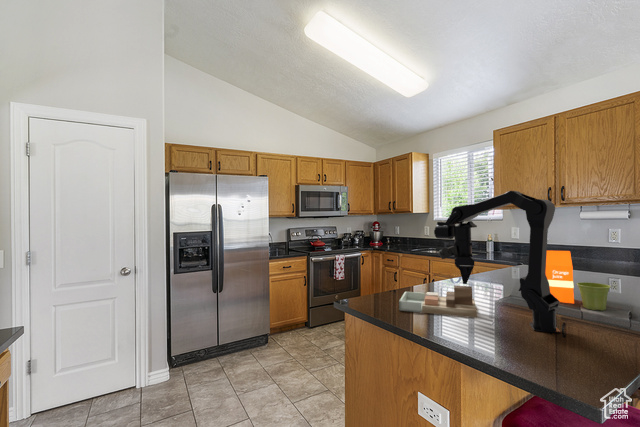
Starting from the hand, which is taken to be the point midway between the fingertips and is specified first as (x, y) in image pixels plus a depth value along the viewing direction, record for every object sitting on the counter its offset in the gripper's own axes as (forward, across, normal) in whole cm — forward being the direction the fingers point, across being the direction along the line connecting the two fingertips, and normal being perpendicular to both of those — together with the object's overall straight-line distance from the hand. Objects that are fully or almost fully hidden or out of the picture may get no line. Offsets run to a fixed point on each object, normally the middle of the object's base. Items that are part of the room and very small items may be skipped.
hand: (464, 281), depth 114 cm
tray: (+11, 0, -19) cm, 22 cm away
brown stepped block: (+8, 0, -2) cm, 8 cm away
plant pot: (+11, -17, +43) cm, 48 cm away
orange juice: (+11, -27, +35) cm, 46 cm away
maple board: (+11, 0, -6) cm, 12 cm away
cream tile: (+8, -4, -12) cm, 15 cm away
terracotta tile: (+8, +4, -12) cm, 15 cm away
